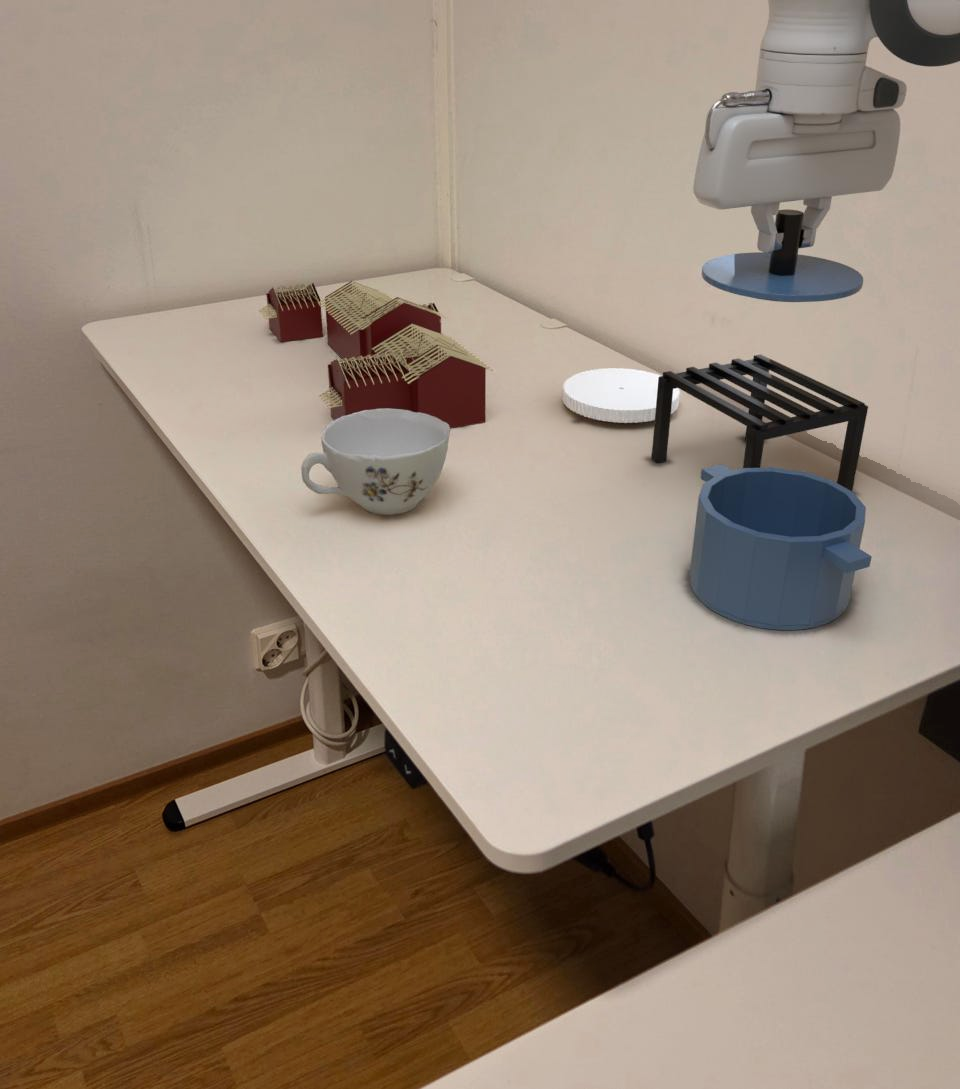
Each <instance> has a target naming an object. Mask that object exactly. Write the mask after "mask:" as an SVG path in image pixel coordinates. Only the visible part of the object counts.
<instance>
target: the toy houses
mask: <svg viewBox="0 0 960 1089" xmlns="http://www.w3.org/2000/svg"><path fill="white" fill-rule="evenodd" d="M265 295H266V305H265V306H263V307H262V308H260V309H258V312H259V313H260V314H261V315H262V317H263V318H264V319H265V320H266V321H267V320H268V326H269V330H270V331H271V332H272V333H273V335H274V336H275V337H276V338H277V339H278V341H279V342H280V343H285V342H293V341H300V340H308V339H309V340H310V339H317V338H323V337H324V330H323V316H322V314H323V313H322V309H324V310H325V320H326V336H327V337H326V338H327V345H328V346H329V347H330V348H331V349H332V350H333V351H334V353H335V354H336V355H337V356H338V357H339V358H340V359H339V358H337V359H334V360H332V361H330V362H328V363H327V374H328V375H327V378H328V389H327V390H326V391H324V392H322V393H321V394H319V395H318V398H320V400H322V402H323V403H324V405H326V407H327V408H328V410H330V417H331V419H333V421H334V420H336V419H338V418H340V417H342V416H346V415H350V414H353V413H357V412H360V411H364V410H374V409H385V408H389V409H401V410H409V411H412V412H415V413H418V412H420V413H424V414H428V415H430V416H433V417H436V418H438V419H440V420H441V421H443V422H446V423H447V424H448V425H449V427H450V428H451V429H452V428H458V427H463V426H469V425H475V424H482V423H486V387H487V386H486V385H487V384H486V379H487V378H486V374H487V372H486V371H490V372H493V371H494V369H492V368H491V367H490V366H487V364H486V363H484V362H483V361H481V359H480V358H479V357H477V356H476V355H474V354H473V353H472V352H471V351H469V350H468V349H467V348H465V347H464V346H463V345H462V344H460V343H459V342H458V341H456V339H453V337H452V336H449V335H445V334H443V333H442V319H444V320H447V318H448V317H446V315H443V314H442V313H441V312H440V311H439V310H438V307H437V306H436V304H435V302H429V303H424V304H420V303H419V304H418V303H415V302H412V301H409V300H407V299H403V298H401V297H399V296H398V297H397V296H396V297H395V298H392V297H390V295H388V294H387V293H385V292H382V291H379V290H377V289H375V288H371V287H369V286H367V285H364V284H361V283H359V282H355V281H353V280H350V281H349V282H347V283H346V284H344V285H342V286H340V287H339V288H337V289H336V290H334V291H332V292H330V293H329V294H327V295H326V296H324V298H323V299H321V297H320V295H319V293H318V291H317V289H316V286H315V284H314V282H310V283H308V284H307V285H306V283H301V284H297V285H295V286H294V285H290V286H287V285H284V286H283V287H282V285H281V286H278V287H277V288H276V289H275V287H274V286H272V287H271V288H270V289H269V290H268V292H265Z"/></svg>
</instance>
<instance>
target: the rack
mask: <svg viewBox="0 0 960 1089" xmlns="http://www.w3.org/2000/svg"><path fill="white" fill-rule="evenodd" d="M770 371H771V372H773V373H775V374H777V375H779V376H782V378H785V379H787V380H789V381H791V382H793V383H796V384H798V385H799V386H802V387H803V388H806V389H807V390H810V391H811V392H814V393H816V394H818V395H820V396H822V397H824V398H826V399H828V400H831V401H832V402H835V403H837V404H839V405H840V406H838V405H836V404H833V403H832V402H829V401H827V400H825V399H823V398H821V397H819V396H817V395H816V394H813V393H811V392H809V391H806V390H805V389H803V388H801V387H799V386H797V385H794V384H793V383H790V382H789V381H787V380H784V379H782V378H780V377H778V376H776V375H774V374H771V373H770ZM746 376H750V378H752V379H750V378H749V377H746ZM723 380H726V381H728V382H729V383H732V384H733V385H736V386H738V387H740V388H742V389H744V390H746V391H747V392H749V393H750V395H749V394H747V393H745V392H743V391H742V390H740V389H738V388H735V387H734V386H732V385H729V384H728V383H726V382H723ZM699 385H704V386H705V387H708V388H709V389H711V390H713V391H715V392H717V393H719V394H720V395H722V396H724V397H727V398H728V399H730V400H732V401H734V402H735V403H737V404H739V405H741V406H743V407H745V408H747V409H748V412H747V411H745V410H743V409H741V408H740V407H738V406H737V405H735V404H732V403H730V402H729V401H727V400H724V399H723V398H721V397H719V396H717V395H715V394H713V393H712V392H710V391H708V390H707V389H705V388H703V387H701V386H699ZM768 386H769V387H772V388H774V389H775V390H777V391H780V392H782V393H783V394H786V395H788V396H789V397H791V398H793V399H795V400H798V401H800V402H802V403H803V404H805V405H807V406H810V407H811V408H814V409H816V410H818V411H814V410H812V409H810V408H808V407H806V406H805V405H802V404H800V403H798V402H796V401H793V400H792V399H790V398H788V397H786V396H784V395H782V394H780V393H778V392H776V391H774V390H772V389H770V388H768ZM675 388H679V390H680V391H683V392H684V393H686V394H688V395H690V396H692V397H693V398H694V399H697V400H698V401H701V402H703V403H704V404H706V405H708V406H710V407H711V408H713V409H715V410H717V411H719V412H721V413H722V414H724V415H725V416H728V417H729V418H731V419H733V420H735V421H736V422H738V423H740V424H742V425H744V426H745V436H744V439H745V449H744V456H743V463H742V468H761V465H762V459H763V458H762V457H763V453H764V444H765V441H767V440H771V439H775V438H780V437H785V436H789V435H794V434H797V433H802V432H806V431H811V430H815V429H819V428H825V427H829V426H833V425H837V424H842V423H847V424H846V431H845V435H844V442H843V445H842V446H843V447H842V451H841V457H840V464H839V469H838V475H837V480H836V483H838V484H839V485H841V486H843V487H845V488H846V489H848V490H850V491H852V492H853V489H854V485H855V478H856V475H857V474H856V473H857V468H858V464H859V459H860V453H861V447H862V443H863V441H862V440H863V437H864V431H865V426H866V420H867V415H868V410H869V405H867V404H866V403H864V402H863V401H861V400H858V399H857V398H855V397H852V396H850V395H848V394H846V393H844V392H842V391H840V390H837V389H835V388H833V387H831V386H829V385H826V384H825V383H822V382H821V381H818V380H816V379H815V378H812V377H810V376H807V375H806V374H803V373H801V372H800V371H797V370H795V369H793V368H791V367H788V366H787V365H784V364H782V363H780V362H779V361H776V360H774V359H771V358H769V357H768V356H766V355H763V354H761V353H760V354H755V355H753V358H752V359H745V360H743V359H741V358H739V357H738V358H733V359H731V362H730V363H724V364H721V363H718V362H712V363H711V362H710V363H709V364H708V367H703V368H697V367H695V366H690V367H686V368H685V371H681V372H673V371H671V370H668V371H664V372H663V371H662V375H660V377H659V379H658V390H657V401H656V412H655V420H654V424H653V436H652V447H651V448H652V449H651V450H652V451H651V457H650V459H651V460H652V461H653V462H655V463H656V464H660V463H665V462H667V458H668V446H669V438H670V426H671V418H672V417H671V416H672V413H671V406H672V396H673V389H675ZM766 401H767V402H769V403H770V404H772V405H774V406H776V407H778V408H780V409H782V410H784V411H785V412H788V413H790V414H792V415H793V416H789V415H787V414H785V413H783V412H781V411H779V410H777V409H776V408H774V407H771V406H770V405H768V404H766ZM763 418H765V419H767V420H769V421H767V422H765V421H764V420H763Z"/></svg>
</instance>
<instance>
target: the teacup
mask: <svg viewBox="0 0 960 1089" xmlns="http://www.w3.org/2000/svg"><path fill="white" fill-rule="evenodd" d="M451 429H452V428H450V427H449V425H448V424H447V423H446V422H443V421H441V420H440V419H438V418H436V417H433V416H430V415H428V414H424V413H420V412H418V413H415V412H412V411H409V410H401V409H389V408H385V409H374V410H364V411H360V412H357V413H353V414H350V415H346V416H342V417H340V418H338V419H336V420H334V419H333V420H332V421H330V423H329V424H327V426H325V427H324V428H323V430H322V434H321V437H320V438H321V439H320V441H321V447H322V451H323V453H322V452H321V453H320V452H312V453H309V454H308V455H307V456H306V457H305V458H304V460H303V461H302V463H301V480H302V483H304V484H305V486H306V487H307V488H308V489H309V490H310V491H312V492H314V493H315V494H318V495H342V496H345V497H348V498H349V499H351V500H352V501H353V502H354V503H356V504H357V505H359V506H361V508H362V509H364V510H365V511H367V512H369V513H372V514H374V515H380V516H395V515H401V514H405V513H408V512H409V511H411V510H413V509H414V508H416V507H417V505H419V503H420V501H421V500H423V499H424V498H425V497H426V496H427V494H429V493H430V491H431V490H432V489H433V487H434V486H435V484H436V483H437V481H438V480H439V478H440V475H441V474H442V471H443V468H444V466H445V462H446V458H447V453H448V448H449V441H450V434H451ZM317 464H320V465H322V466H323V467H324V468H325V470H326V471H327V472H329V473H330V474H331V476H332V477H333V479H334V481H335V482H336V483H337V486H324V485H321V484H318V483H316V482H314V481H313V480H311V478H310V472H311V469H312V467H313V466H314V465H317Z"/></svg>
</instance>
